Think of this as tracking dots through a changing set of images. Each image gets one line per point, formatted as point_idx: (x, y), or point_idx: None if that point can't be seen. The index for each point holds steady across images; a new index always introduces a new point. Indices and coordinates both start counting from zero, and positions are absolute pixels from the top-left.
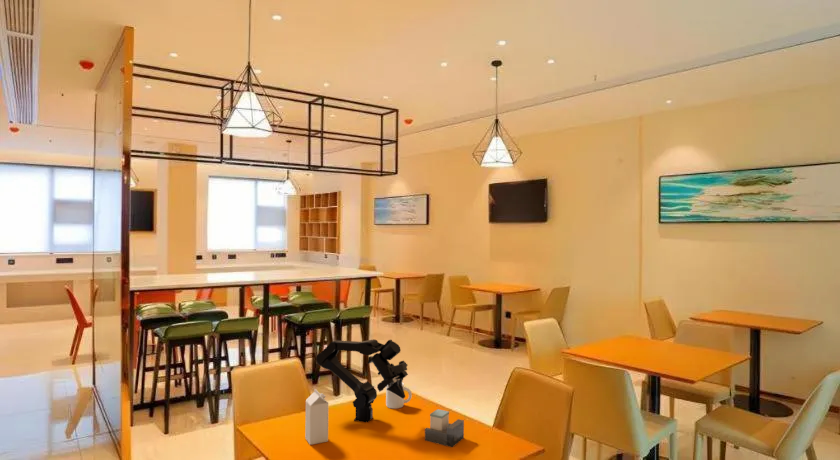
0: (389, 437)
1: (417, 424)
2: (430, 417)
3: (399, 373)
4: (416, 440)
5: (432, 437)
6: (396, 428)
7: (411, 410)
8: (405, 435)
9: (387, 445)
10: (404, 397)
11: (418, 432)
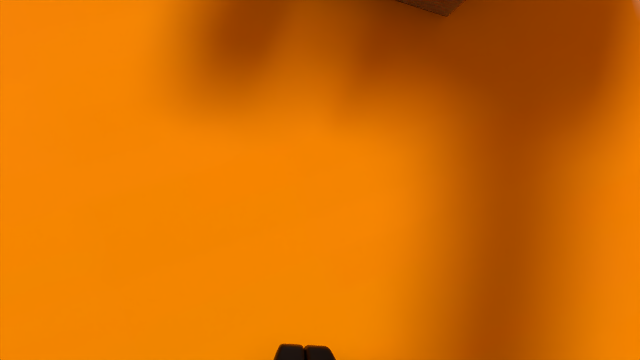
0: (491, 334)
1: (98, 180)
2: None
3: None
4: (468, 85)
5: None
6: None
7: None
8: (405, 210)
9: (629, 285)
10: (328, 348)
11: (301, 113)
